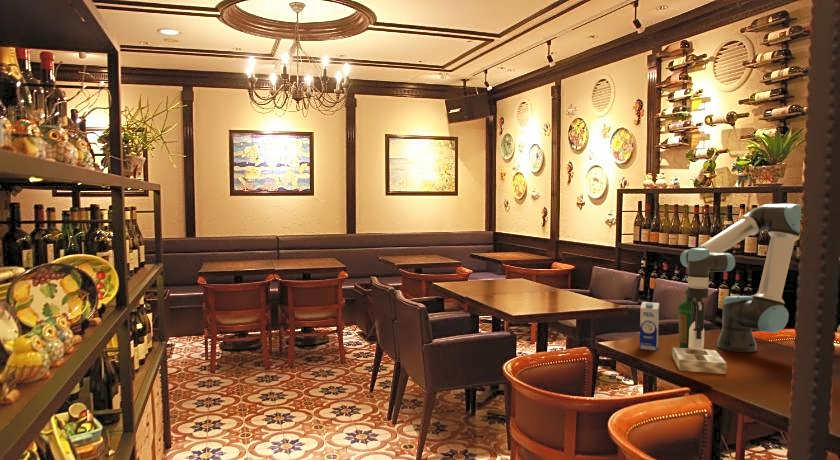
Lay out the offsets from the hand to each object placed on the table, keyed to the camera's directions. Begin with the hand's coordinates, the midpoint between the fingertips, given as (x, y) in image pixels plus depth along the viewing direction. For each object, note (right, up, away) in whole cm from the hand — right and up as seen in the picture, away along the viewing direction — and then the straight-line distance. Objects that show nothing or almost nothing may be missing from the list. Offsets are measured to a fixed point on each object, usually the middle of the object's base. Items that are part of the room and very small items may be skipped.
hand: (696, 344), depth 237 cm
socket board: (-1, -7, -5) cm, 8 cm away
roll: (0, -2, 0) cm, 2 cm away
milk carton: (-10, -6, +22) cm, 25 cm away
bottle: (+6, -6, +19) cm, 21 cm away
